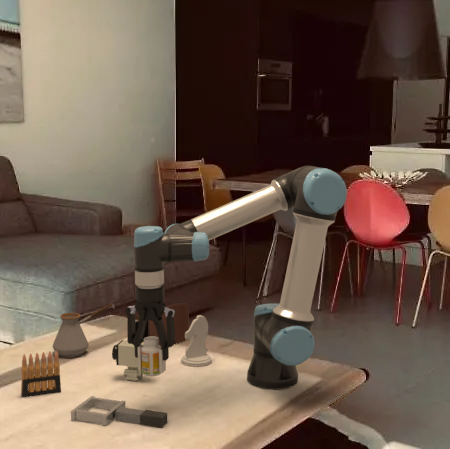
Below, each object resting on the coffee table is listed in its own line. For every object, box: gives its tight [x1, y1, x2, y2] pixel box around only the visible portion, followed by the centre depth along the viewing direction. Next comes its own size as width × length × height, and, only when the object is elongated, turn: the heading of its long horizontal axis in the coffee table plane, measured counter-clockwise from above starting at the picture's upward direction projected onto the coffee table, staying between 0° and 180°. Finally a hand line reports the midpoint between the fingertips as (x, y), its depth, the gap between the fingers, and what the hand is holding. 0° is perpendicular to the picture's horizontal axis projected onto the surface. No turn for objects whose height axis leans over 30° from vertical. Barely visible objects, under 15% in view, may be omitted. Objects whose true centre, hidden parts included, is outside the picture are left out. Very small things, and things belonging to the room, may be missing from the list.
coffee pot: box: [52, 302, 116, 358], centre depth 247 cm, size 21×12×15 cm, turn 124°
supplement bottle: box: [141, 336, 162, 377], centre depth 200 cm, size 5×5×10 cm
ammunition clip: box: [20, 351, 62, 398], centre depth 209 cm, size 11×2×12 cm, turn 114°
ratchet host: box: [70, 395, 168, 429], centre depth 194 cm, size 24×11×3 cm, turn 72°
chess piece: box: [180, 314, 213, 368], centre depth 238 cm, size 10×10×15 cm
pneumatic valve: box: [111, 340, 144, 382], centre depth 222 cm, size 6×12×12 cm, turn 78°
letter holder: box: [135, 302, 190, 346], centre depth 257 cm, size 10×20×14 cm, turn 142°
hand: (152, 370), depth 201 cm, fingers closed on supplement bottle, 5 cm apart
